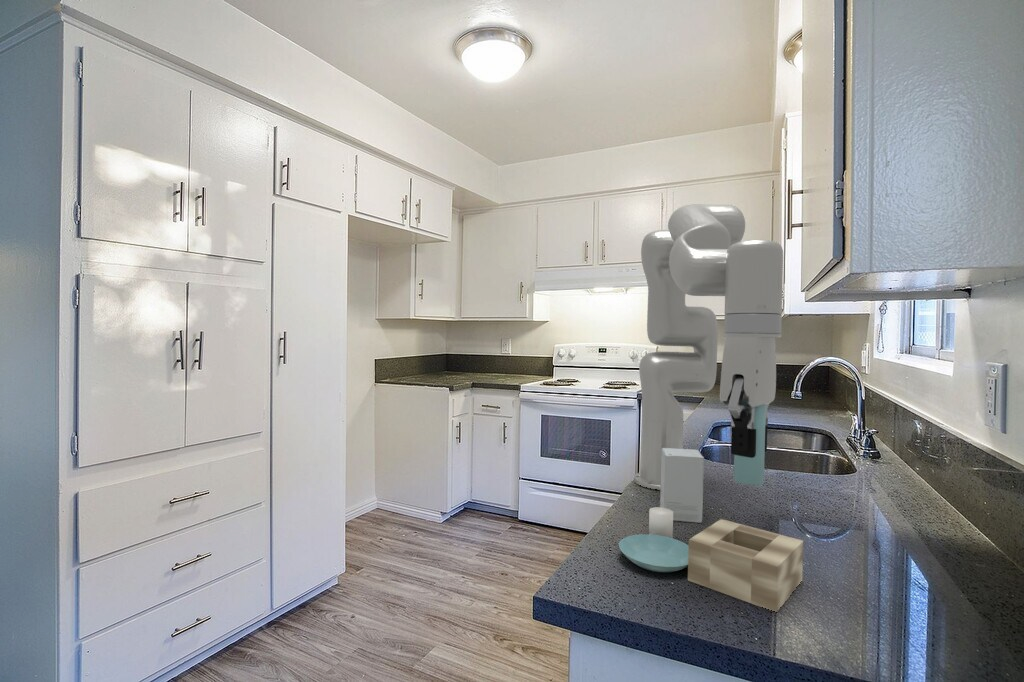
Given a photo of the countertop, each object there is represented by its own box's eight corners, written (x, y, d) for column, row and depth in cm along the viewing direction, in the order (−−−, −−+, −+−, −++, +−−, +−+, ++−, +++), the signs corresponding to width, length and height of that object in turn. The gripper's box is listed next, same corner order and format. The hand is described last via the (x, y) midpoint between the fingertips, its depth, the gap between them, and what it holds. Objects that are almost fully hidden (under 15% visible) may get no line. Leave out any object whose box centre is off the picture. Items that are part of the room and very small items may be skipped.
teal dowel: (739, 476, 78) (741, 383, 77) (767, 481, 75) (770, 385, 75) (729, 481, 75) (731, 385, 75) (758, 487, 72) (760, 387, 72)
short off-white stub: (655, 533, 93) (656, 505, 93) (676, 539, 90) (677, 511, 90) (644, 539, 90) (645, 510, 90) (665, 546, 87) (666, 516, 87)
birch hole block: (720, 555, 84) (721, 518, 84) (802, 581, 75) (803, 540, 75) (687, 580, 75) (688, 539, 75) (776, 612, 67) (777, 566, 67)
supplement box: (703, 523, 98) (704, 457, 97) (662, 520, 99) (664, 455, 99) (697, 510, 105) (698, 449, 105) (659, 507, 106) (661, 446, 106)
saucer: (694, 552, 85) (694, 539, 85) (698, 586, 74) (699, 570, 74) (621, 543, 88) (621, 530, 88) (615, 574, 77) (615, 559, 77)
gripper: (746, 328, 83) (743, 441, 83) (702, 325, 71) (699, 458, 71) (797, 329, 78) (794, 449, 78) (760, 326, 66) (756, 468, 66)
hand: (749, 452), depth 75 cm, fingers closed on teal dowel, 4 cm apart
